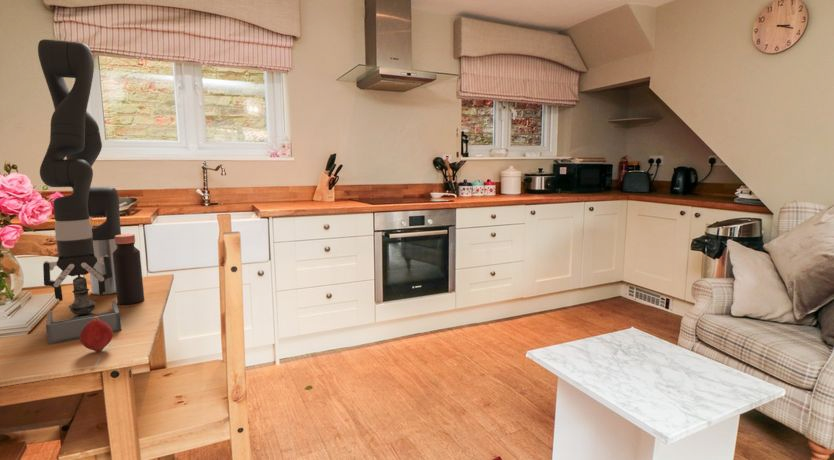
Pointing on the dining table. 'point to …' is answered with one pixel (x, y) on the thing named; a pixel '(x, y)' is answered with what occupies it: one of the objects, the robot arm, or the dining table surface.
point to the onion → (96, 335)
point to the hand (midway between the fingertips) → (81, 297)
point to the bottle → (127, 270)
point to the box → (78, 325)
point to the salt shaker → (81, 298)
